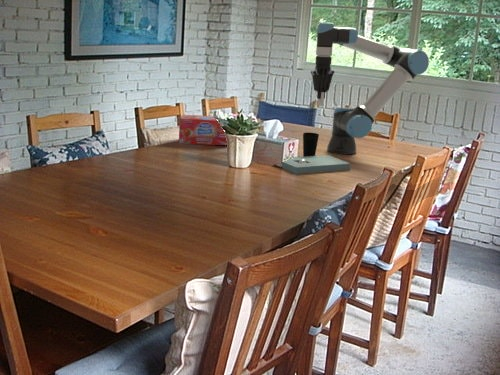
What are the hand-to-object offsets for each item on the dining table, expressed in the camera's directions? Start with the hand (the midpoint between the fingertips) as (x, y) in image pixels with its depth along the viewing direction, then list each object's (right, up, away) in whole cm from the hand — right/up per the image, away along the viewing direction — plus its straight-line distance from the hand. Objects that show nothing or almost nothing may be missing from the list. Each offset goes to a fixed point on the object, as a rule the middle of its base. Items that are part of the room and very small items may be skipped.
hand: (320, 105), depth 311 cm
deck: (-6, -31, -15) cm, 35 cm away
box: (-57, -17, +25) cm, 65 cm away
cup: (-5, -26, +4) cm, 26 cm away
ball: (-10, -29, -19) cm, 36 cm away
